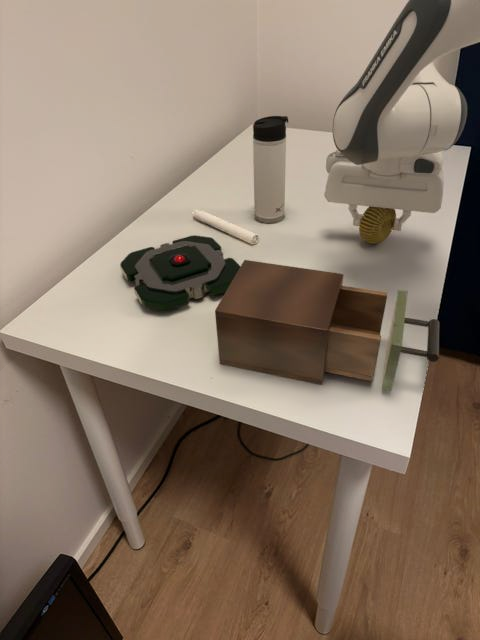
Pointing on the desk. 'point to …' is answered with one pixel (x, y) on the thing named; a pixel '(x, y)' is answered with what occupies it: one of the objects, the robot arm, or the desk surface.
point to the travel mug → (269, 168)
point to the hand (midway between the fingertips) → (377, 227)
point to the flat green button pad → (179, 272)
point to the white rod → (226, 226)
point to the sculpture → (376, 224)
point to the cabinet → (277, 320)
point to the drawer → (371, 335)
